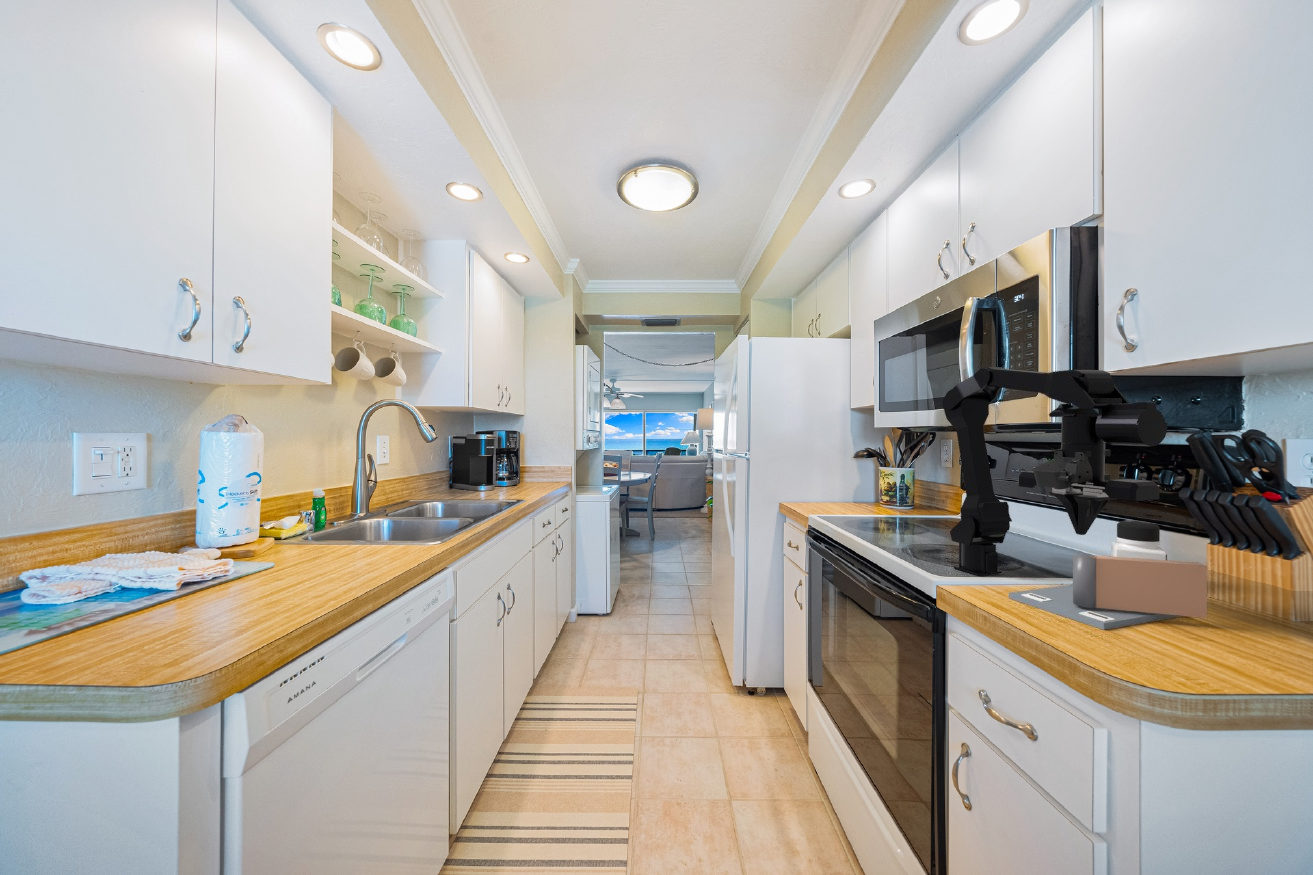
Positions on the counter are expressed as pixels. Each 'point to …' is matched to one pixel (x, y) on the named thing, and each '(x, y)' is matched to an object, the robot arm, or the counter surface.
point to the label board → (1082, 608)
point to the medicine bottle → (1138, 541)
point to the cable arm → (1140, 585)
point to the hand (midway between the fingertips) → (1080, 534)
